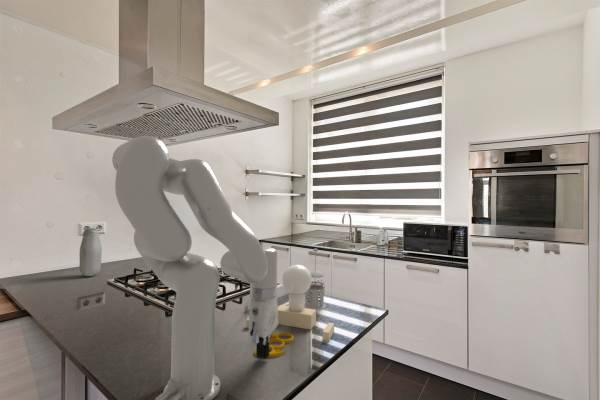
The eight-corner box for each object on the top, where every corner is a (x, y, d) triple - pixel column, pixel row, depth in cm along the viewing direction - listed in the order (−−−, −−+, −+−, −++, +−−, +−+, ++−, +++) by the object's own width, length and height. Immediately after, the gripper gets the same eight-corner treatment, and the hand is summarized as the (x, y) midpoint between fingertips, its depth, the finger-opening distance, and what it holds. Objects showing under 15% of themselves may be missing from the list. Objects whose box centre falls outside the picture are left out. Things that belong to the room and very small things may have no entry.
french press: (318, 301, 136) (319, 246, 136) (332, 309, 126) (333, 250, 126) (299, 304, 132) (300, 247, 132) (312, 312, 121) (313, 251, 122)
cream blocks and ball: (328, 341, 96) (329, 275, 96) (246, 327, 106) (247, 267, 106) (339, 322, 112) (339, 265, 112) (266, 311, 121) (267, 259, 122)
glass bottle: (84, 274, 177) (85, 227, 177) (103, 273, 179) (104, 227, 179) (75, 278, 167) (77, 228, 167) (96, 277, 170) (97, 228, 170)
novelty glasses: (302, 341, 97) (277, 333, 103) (302, 336, 97) (277, 329, 103) (272, 364, 83) (245, 354, 89) (272, 358, 83) (245, 348, 89)
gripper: (263, 301, 76) (262, 373, 76) (285, 286, 90) (284, 346, 90) (238, 298, 79) (237, 367, 79) (263, 283, 93) (262, 342, 93)
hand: (262, 356), depth 84 cm, fingers closed
